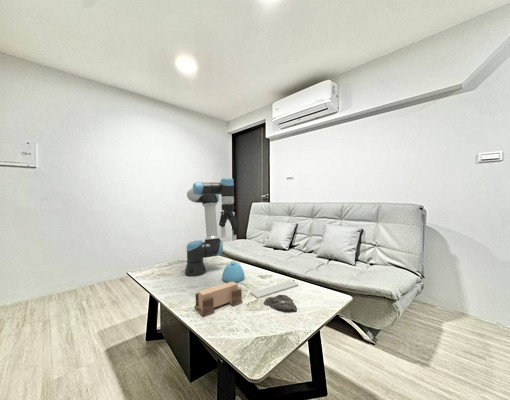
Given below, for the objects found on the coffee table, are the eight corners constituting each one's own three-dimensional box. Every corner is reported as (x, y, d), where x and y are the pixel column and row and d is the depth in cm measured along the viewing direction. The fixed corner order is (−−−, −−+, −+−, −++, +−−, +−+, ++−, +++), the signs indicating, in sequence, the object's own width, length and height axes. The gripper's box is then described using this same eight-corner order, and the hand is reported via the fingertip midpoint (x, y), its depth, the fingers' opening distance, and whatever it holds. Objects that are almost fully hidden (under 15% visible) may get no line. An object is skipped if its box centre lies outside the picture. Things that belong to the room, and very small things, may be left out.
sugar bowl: (218, 278, 149) (217, 262, 149) (236, 273, 158) (236, 258, 158) (229, 285, 137) (229, 267, 137) (248, 279, 146) (248, 262, 146)
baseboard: (248, 293, 127) (257, 299, 118) (248, 288, 127) (257, 294, 118) (287, 281, 143) (298, 286, 134) (287, 277, 143) (298, 282, 134)
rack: (194, 308, 110) (194, 293, 110) (232, 295, 122) (232, 283, 122) (202, 317, 101) (202, 301, 101) (242, 302, 114) (242, 289, 114)
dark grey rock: (276, 294, 124) (259, 304, 113) (276, 287, 124) (259, 296, 113) (306, 305, 111) (290, 317, 100) (306, 297, 111) (290, 309, 100)
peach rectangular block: (198, 307, 108) (198, 291, 108) (233, 295, 120) (232, 281, 120) (203, 311, 104) (202, 295, 104) (238, 298, 116) (237, 284, 116)
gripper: (213, 203, 139) (214, 236, 139) (232, 204, 118) (233, 242, 119) (223, 203, 143) (224, 235, 143) (244, 203, 123) (245, 240, 123)
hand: (228, 238), depth 131 cm, fingers open, 13 cm apart
